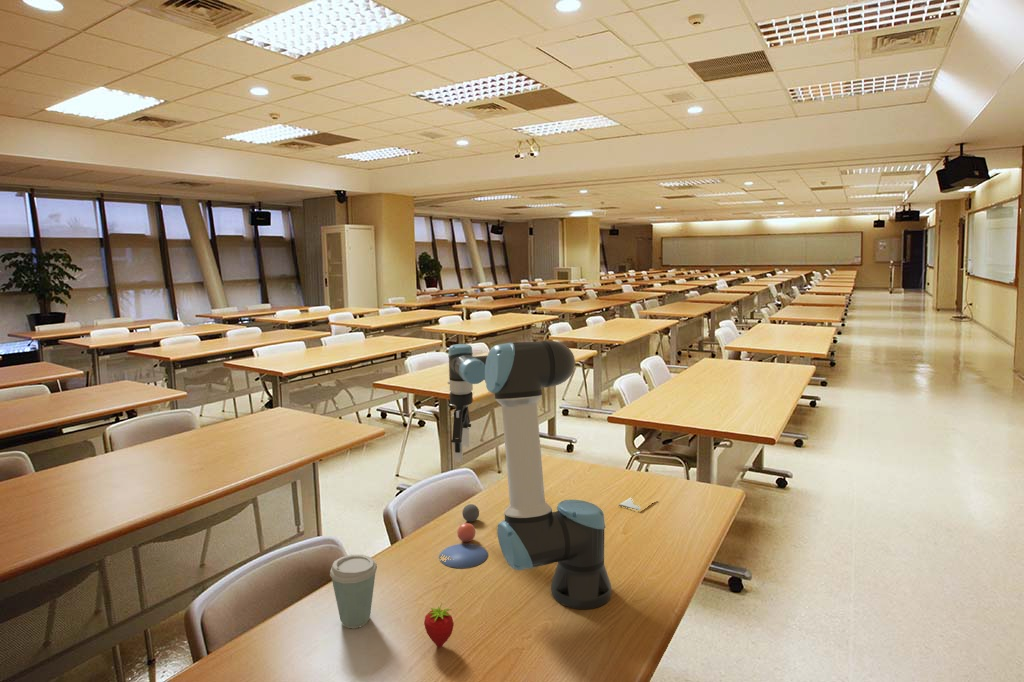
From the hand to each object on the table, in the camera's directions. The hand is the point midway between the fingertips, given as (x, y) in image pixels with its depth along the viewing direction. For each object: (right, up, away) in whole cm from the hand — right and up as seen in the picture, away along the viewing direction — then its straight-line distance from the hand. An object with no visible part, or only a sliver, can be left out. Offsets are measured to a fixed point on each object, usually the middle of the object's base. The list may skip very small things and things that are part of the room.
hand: (461, 453), depth 193 cm
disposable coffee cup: (-20, -29, -56) cm, 66 cm away
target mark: (+3, -24, -26) cm, 36 cm away
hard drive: (+61, -20, +8) cm, 64 cm away
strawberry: (+1, -30, -66) cm, 72 cm away
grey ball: (+3, -19, -4) cm, 19 cm away
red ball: (+3, -21, -17) cm, 27 cm away
